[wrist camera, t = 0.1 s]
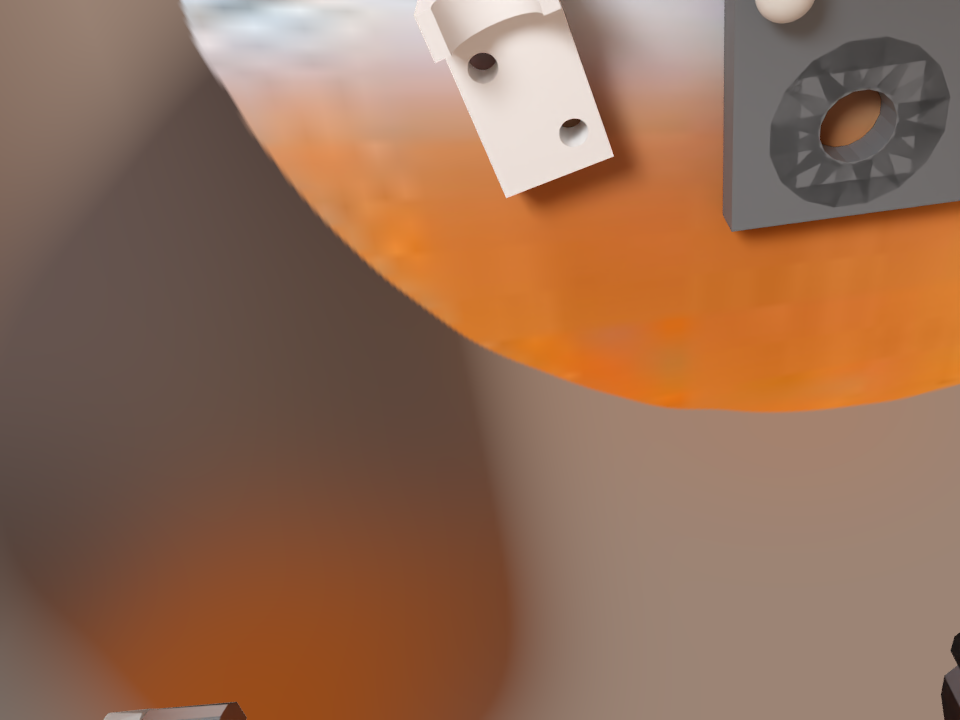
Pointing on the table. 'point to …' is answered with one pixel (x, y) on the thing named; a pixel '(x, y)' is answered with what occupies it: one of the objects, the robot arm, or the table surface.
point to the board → (817, 87)
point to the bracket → (519, 85)
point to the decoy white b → (783, 9)
